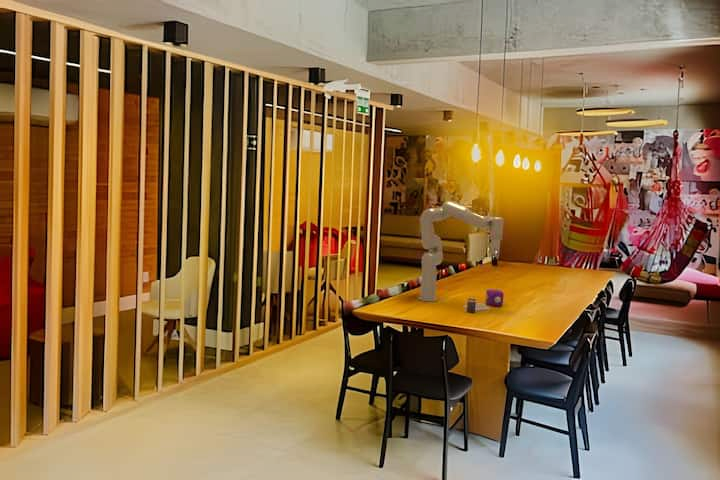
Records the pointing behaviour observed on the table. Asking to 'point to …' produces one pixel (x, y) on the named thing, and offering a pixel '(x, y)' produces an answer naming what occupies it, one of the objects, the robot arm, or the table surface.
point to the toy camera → (494, 297)
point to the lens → (471, 305)
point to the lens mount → (480, 307)
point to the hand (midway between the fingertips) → (494, 265)
